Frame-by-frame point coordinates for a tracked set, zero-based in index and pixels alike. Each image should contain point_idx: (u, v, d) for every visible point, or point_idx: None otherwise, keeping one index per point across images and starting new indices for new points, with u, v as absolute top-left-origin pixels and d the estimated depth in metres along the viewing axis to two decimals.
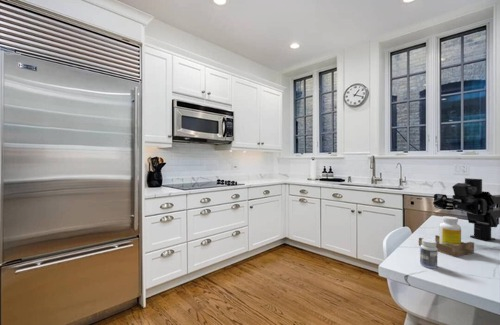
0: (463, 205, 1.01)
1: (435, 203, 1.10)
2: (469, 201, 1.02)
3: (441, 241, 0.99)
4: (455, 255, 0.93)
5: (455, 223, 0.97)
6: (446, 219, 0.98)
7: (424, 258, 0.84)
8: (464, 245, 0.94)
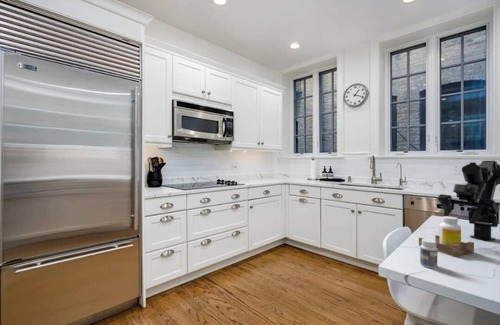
0: (476, 216, 0.97)
1: (446, 215, 1.06)
2: (479, 207, 0.97)
3: (441, 241, 0.99)
4: (455, 255, 0.93)
5: (455, 223, 0.97)
6: (446, 219, 0.98)
7: (424, 258, 0.84)
8: (464, 245, 0.94)
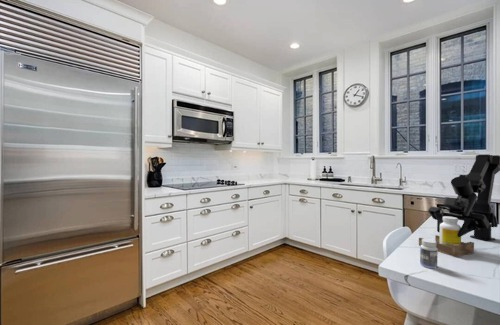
0: (462, 231, 0.95)
1: (439, 230, 1.02)
2: (465, 221, 0.96)
3: (441, 241, 0.99)
4: (455, 255, 0.93)
5: (455, 223, 0.97)
6: (446, 219, 0.98)
7: (424, 258, 0.84)
8: (464, 245, 0.94)
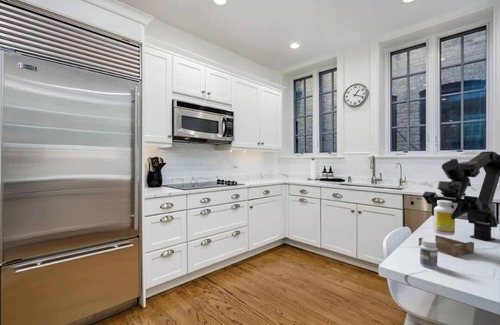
0: (456, 213, 0.97)
1: None
2: (459, 204, 0.98)
3: (435, 224, 1.01)
4: (455, 255, 0.93)
5: (449, 206, 0.99)
6: (440, 202, 1.00)
7: (424, 258, 0.84)
8: (464, 245, 0.94)
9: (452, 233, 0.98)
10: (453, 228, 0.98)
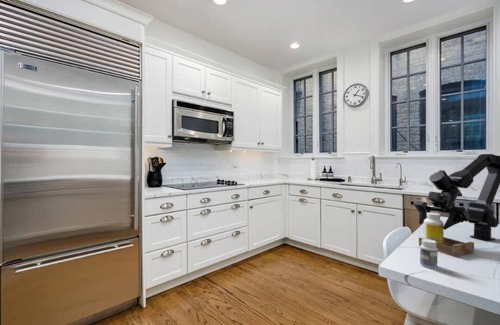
0: (448, 223, 1.00)
1: (421, 222, 1.09)
2: (450, 215, 1.00)
3: (425, 236, 1.05)
4: (455, 255, 0.93)
5: (438, 219, 1.03)
6: (429, 215, 1.04)
7: (424, 258, 0.84)
8: (464, 245, 0.94)
9: None
10: (442, 240, 1.02)
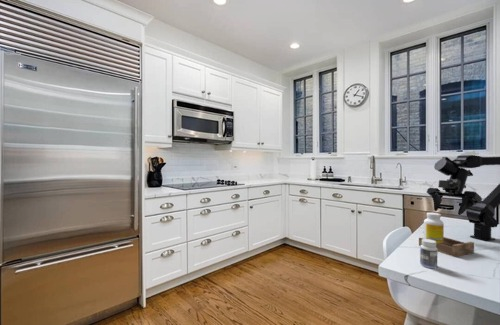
0: (462, 209, 1.05)
1: (436, 209, 1.14)
2: (463, 200, 1.05)
3: (425, 236, 1.05)
4: (455, 255, 0.93)
5: (438, 219, 1.03)
6: (430, 215, 1.04)
7: (424, 258, 0.84)
8: (464, 245, 0.94)
9: None
10: (442, 240, 1.02)
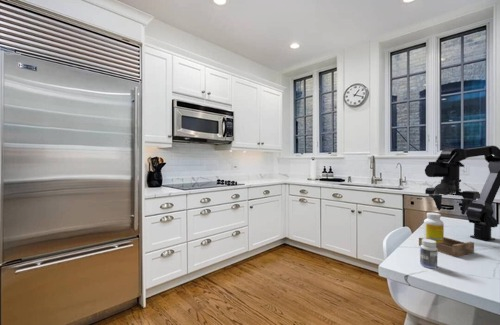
0: (464, 209, 1.08)
1: (439, 208, 1.17)
2: (463, 201, 1.07)
3: (425, 236, 1.05)
4: (455, 255, 0.93)
5: (438, 219, 1.03)
6: (430, 215, 1.04)
7: (424, 258, 0.84)
8: (464, 245, 0.94)
9: None
10: (442, 240, 1.02)
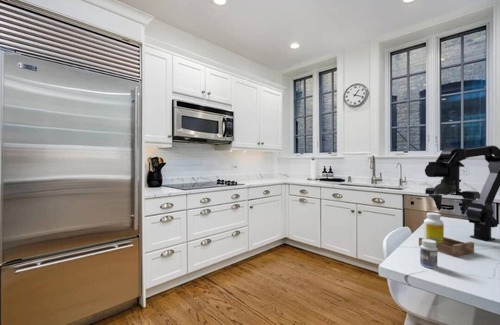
0: (464, 209, 1.08)
1: (439, 208, 1.17)
2: (463, 201, 1.07)
3: (425, 236, 1.05)
4: (455, 255, 0.93)
5: (438, 219, 1.03)
6: (430, 215, 1.04)
7: (424, 258, 0.84)
8: (464, 245, 0.94)
9: None
10: (442, 240, 1.02)
